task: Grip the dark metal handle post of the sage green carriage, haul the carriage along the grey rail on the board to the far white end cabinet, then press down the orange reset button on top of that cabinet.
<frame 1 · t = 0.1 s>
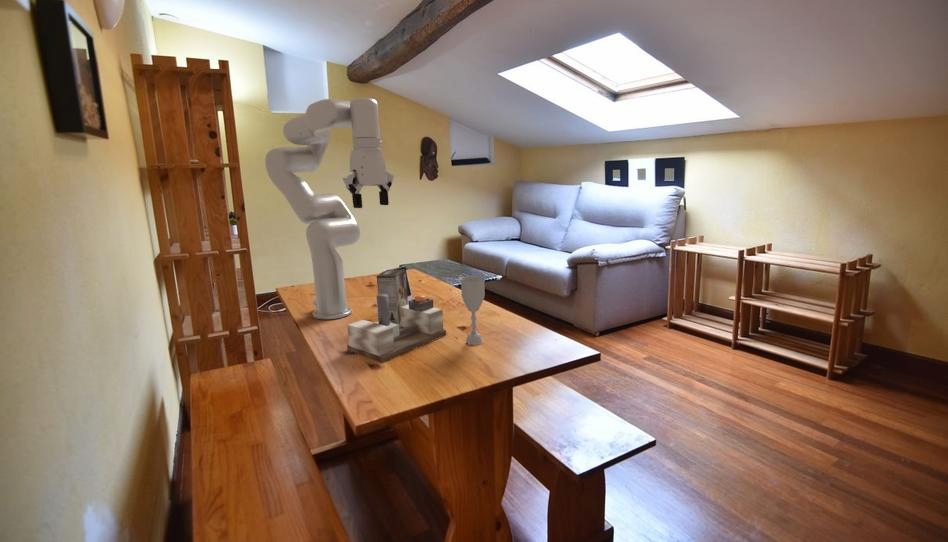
hand: (371, 206, 140), 37 cm above the table, tool pointing down, fingers open, 9 cm apart
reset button: (420, 299, 141), point 10 cm above the table, slide at 0.0 cm
rail bed: (398, 342, 136), on the table
carriage: (383, 315, 130), point 9 cm above the table, slide at 0.0 cm
coffee box: (395, 323, 153), on the table
chalice: (474, 342, 135), on the table
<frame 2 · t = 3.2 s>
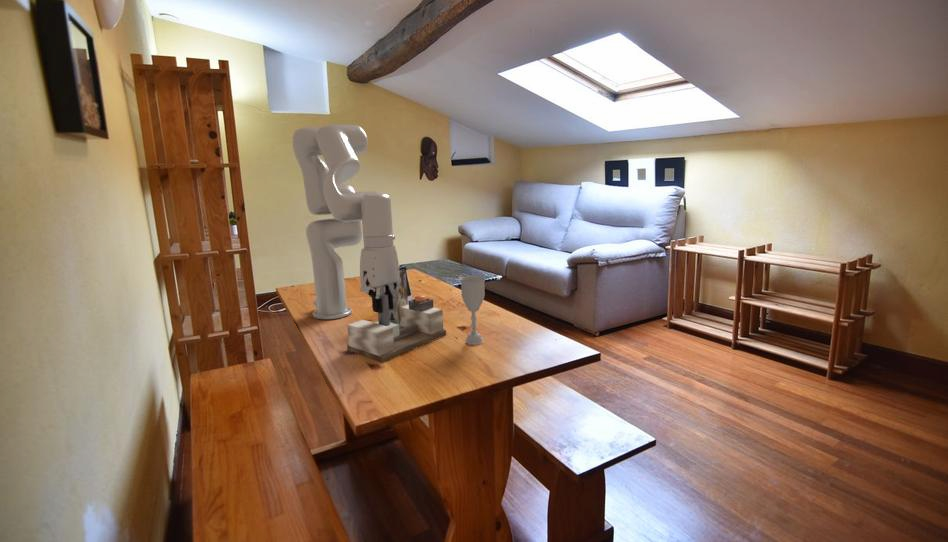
hand: (383, 309, 130), 11 cm above the table, tool pointing down, fingers closed on carriage, 3 cm apart
carriage: (383, 315, 130), point 9 cm above the table, slide at 0.0 cm, touching gripper
everything else where it was.
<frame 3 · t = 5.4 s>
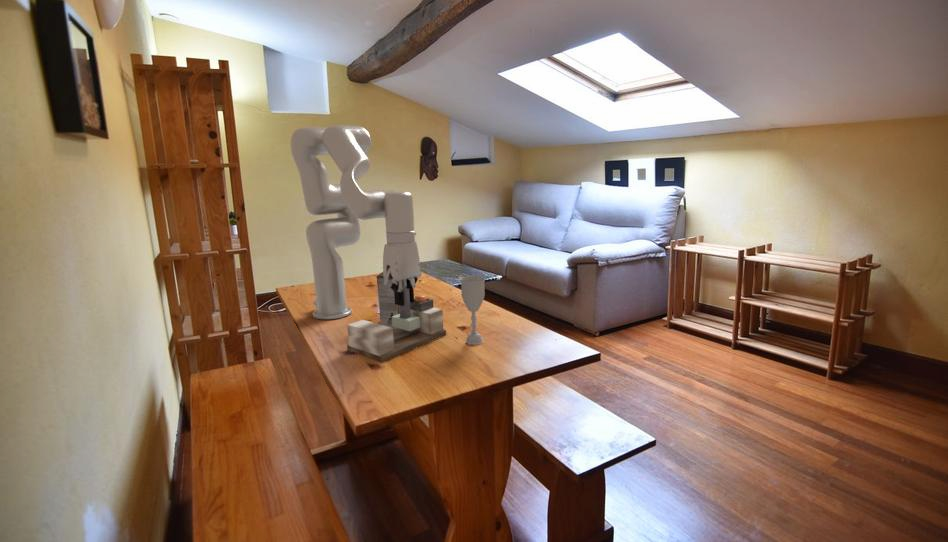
hand: (404, 302, 136), 11 cm above the table, tool pointing down, fingers closed on carriage, 3 cm apart
carriage: (404, 308, 136), point 9 cm above the table, slide at 7.8 cm, touching gripper
everything else where it was.
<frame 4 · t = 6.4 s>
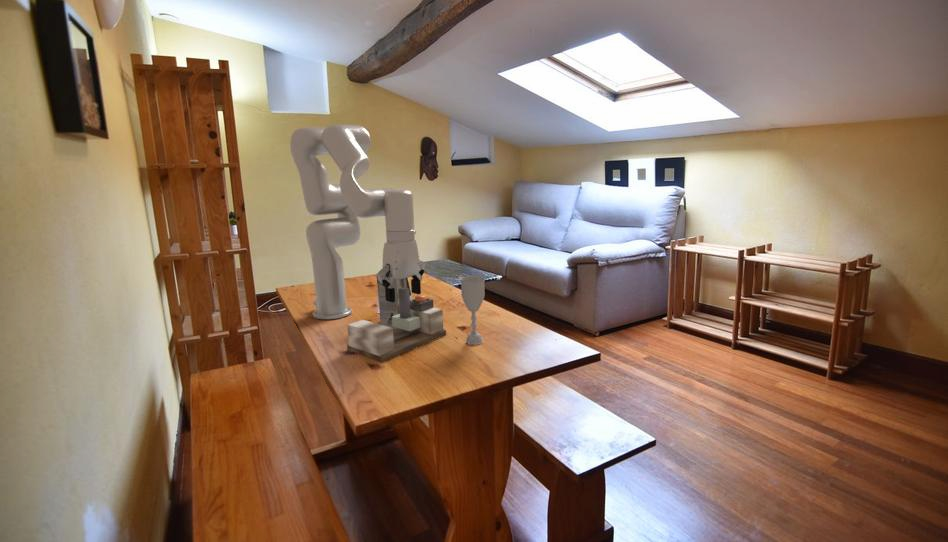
hand: (403, 297, 136), 12 cm above the table, tool pointing down, fingers open, 9 cm apart
carriage: (404, 308, 136), point 9 cm above the table, slide at 7.8 cm
everything else where it was.
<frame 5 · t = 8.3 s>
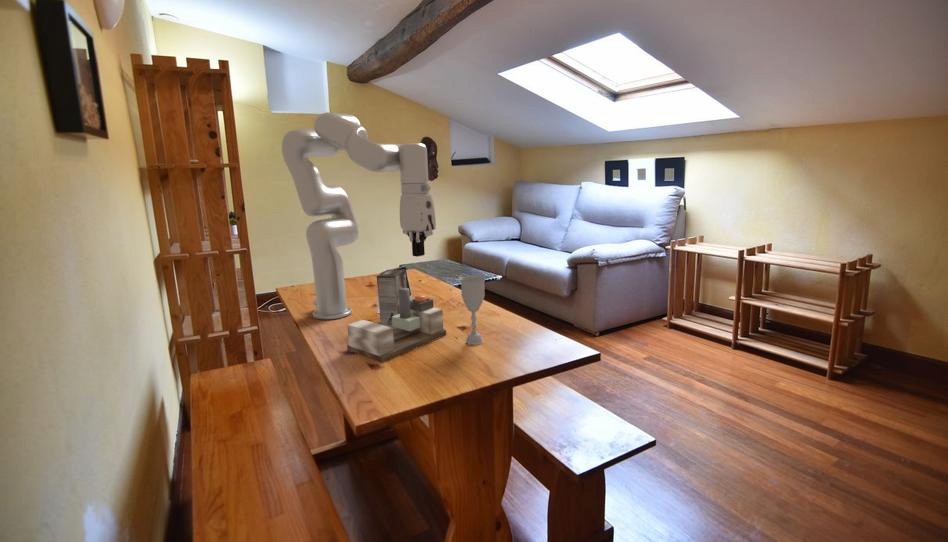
hand: (418, 255, 138), 23 cm above the table, tool pointing down, fingers closed
nothing on the table moved.
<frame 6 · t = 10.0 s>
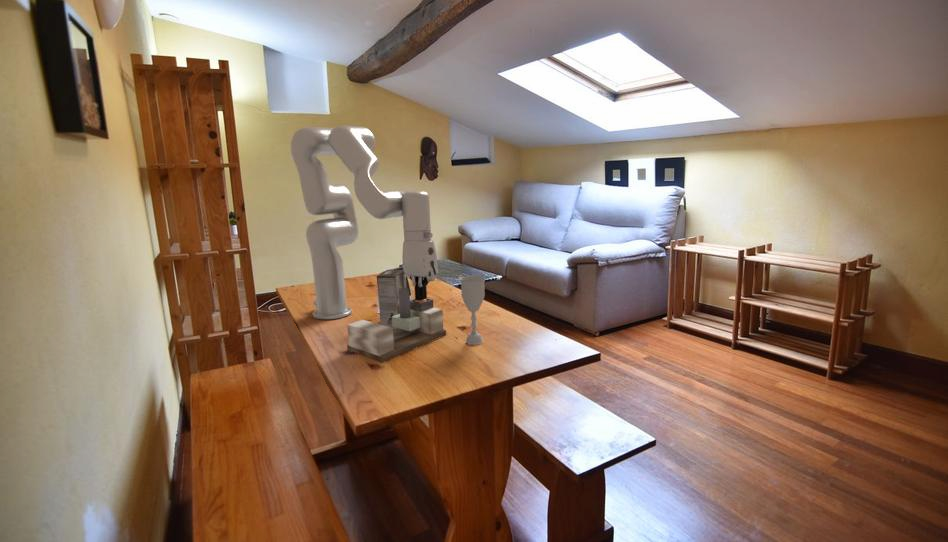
hand: (421, 299, 141), 10 cm above the table, tool pointing down, fingers closed
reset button: (421, 302, 141), point 9 cm above the table, slide at 0.9 cm, touching gripper
everything else where it was.
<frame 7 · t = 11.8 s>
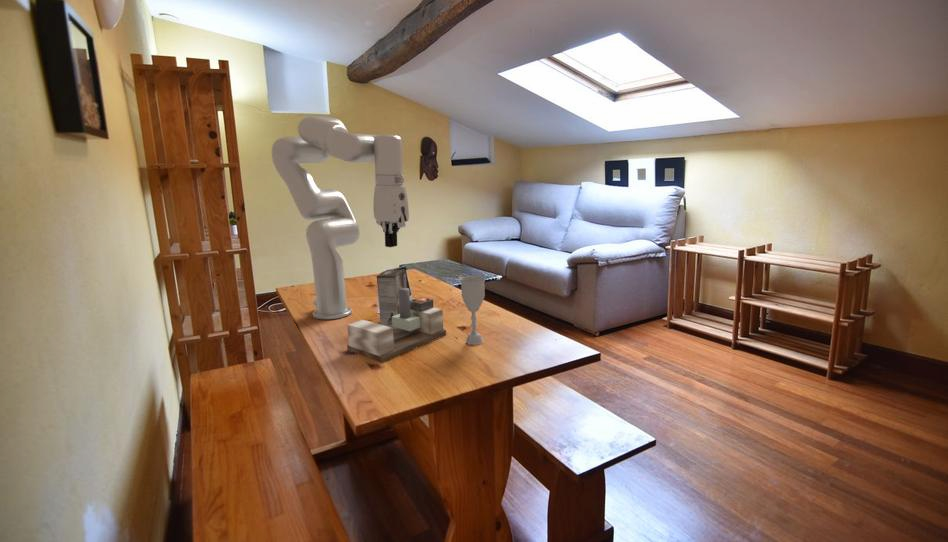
hand: (391, 246, 140), 26 cm above the table, tool pointing down, fingers closed
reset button: (421, 303, 141), point 9 cm above the table, slide at 1.0 cm
everything else where it was.
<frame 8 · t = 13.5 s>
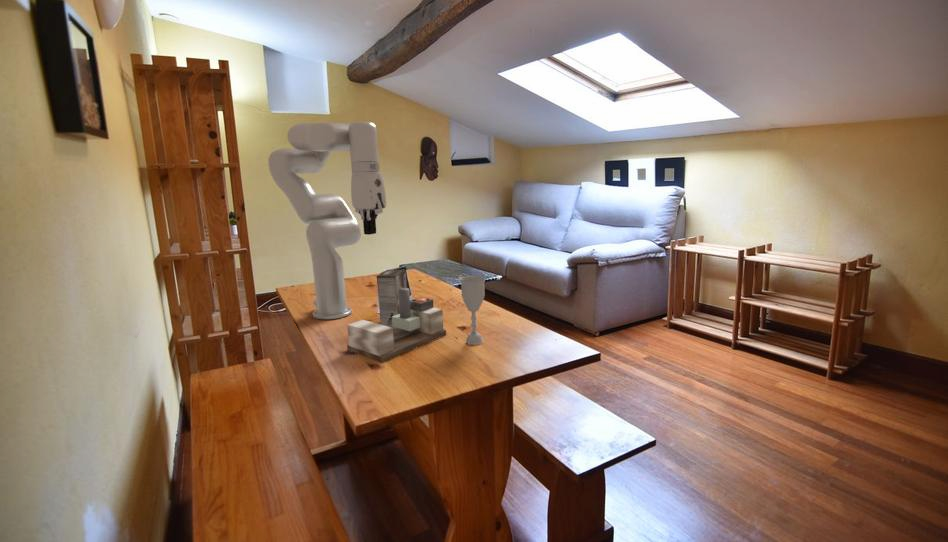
hand: (370, 233, 140), 29 cm above the table, tool pointing down, fingers closed
nothing on the table moved.
at the end: carriage slide at 7.8 cm; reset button slide at 1.0 cm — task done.
